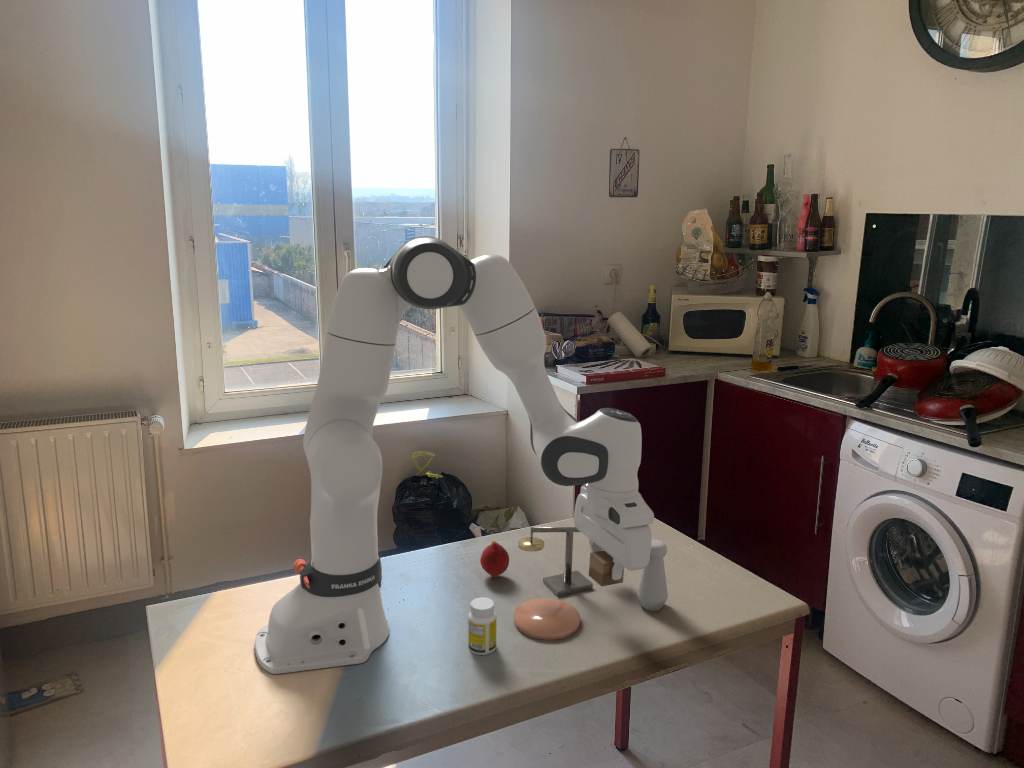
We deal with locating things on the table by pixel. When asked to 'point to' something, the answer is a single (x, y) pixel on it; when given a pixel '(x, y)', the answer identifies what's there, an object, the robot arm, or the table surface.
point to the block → (602, 568)
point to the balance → (569, 579)
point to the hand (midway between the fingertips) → (606, 570)
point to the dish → (546, 619)
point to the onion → (494, 559)
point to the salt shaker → (654, 579)
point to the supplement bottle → (482, 626)
